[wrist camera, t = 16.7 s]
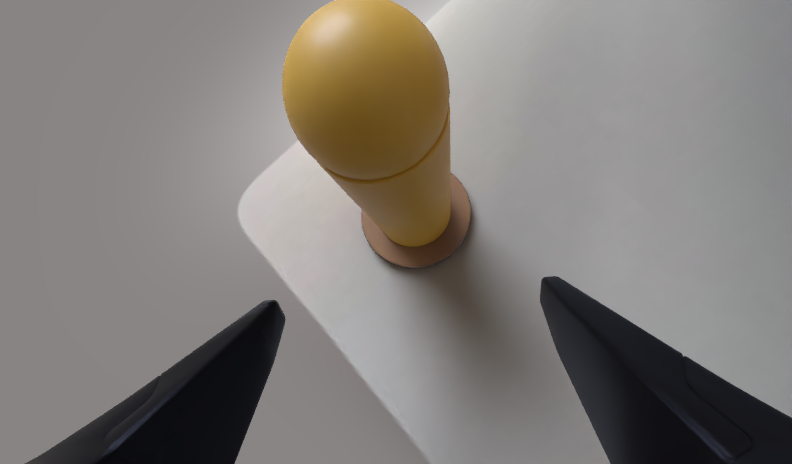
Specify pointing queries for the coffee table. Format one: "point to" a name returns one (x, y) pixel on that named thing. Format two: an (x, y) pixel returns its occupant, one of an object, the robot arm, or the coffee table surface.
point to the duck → (375, 112)
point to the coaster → (430, 251)
